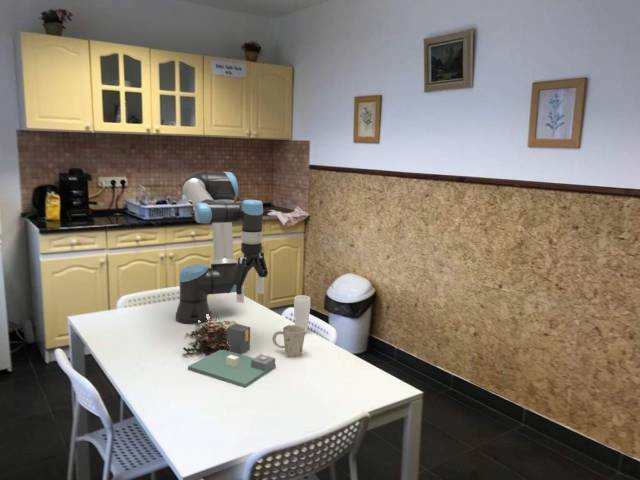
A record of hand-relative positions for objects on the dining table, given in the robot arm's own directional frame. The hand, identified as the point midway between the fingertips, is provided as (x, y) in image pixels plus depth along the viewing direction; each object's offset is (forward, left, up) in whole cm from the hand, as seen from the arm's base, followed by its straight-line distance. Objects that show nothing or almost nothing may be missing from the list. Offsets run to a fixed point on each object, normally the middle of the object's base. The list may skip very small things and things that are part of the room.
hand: (250, 297), depth 194 cm
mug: (+15, +4, -20) cm, 25 cm away
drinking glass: (+8, +26, -20) cm, 33 cm away
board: (+6, -18, -20) cm, 28 cm away
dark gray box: (-2, -4, -20) cm, 20 cm away
